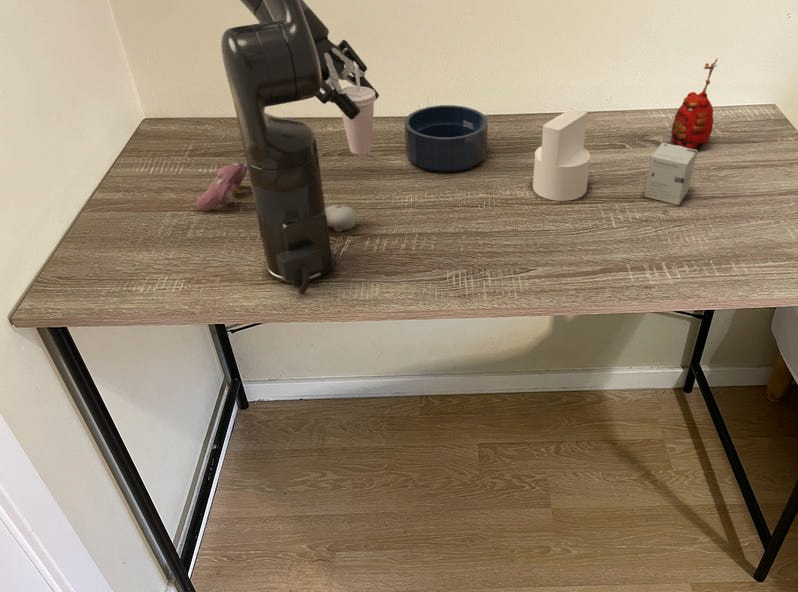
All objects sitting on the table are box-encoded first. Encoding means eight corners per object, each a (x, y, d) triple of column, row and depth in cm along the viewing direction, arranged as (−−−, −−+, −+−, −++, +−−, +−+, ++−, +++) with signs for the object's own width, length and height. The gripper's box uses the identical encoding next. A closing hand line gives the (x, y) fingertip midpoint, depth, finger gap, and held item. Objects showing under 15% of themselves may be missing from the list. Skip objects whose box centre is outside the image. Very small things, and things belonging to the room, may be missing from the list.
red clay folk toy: (661, 138, 143) (675, 57, 133) (692, 132, 145) (708, 51, 135) (687, 155, 137) (703, 71, 128) (718, 147, 140) (736, 64, 130)
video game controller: (219, 223, 122) (229, 189, 118) (192, 209, 122) (202, 175, 117) (244, 194, 130) (255, 161, 125) (220, 180, 129) (230, 147, 124)
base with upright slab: (568, 206, 123) (575, 135, 115) (522, 190, 127) (526, 121, 120) (596, 185, 129) (604, 116, 121) (551, 170, 133) (556, 103, 125)
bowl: (502, 160, 136) (504, 125, 132) (436, 182, 130) (435, 146, 125) (456, 132, 145) (456, 99, 141) (391, 152, 139) (389, 117, 134)
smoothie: (377, 158, 127) (370, 73, 118) (339, 157, 127) (329, 73, 118) (381, 141, 132) (375, 59, 123) (344, 141, 132) (335, 58, 123)
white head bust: (360, 228, 120) (354, 235, 116) (309, 226, 121) (302, 233, 116) (359, 200, 119) (354, 207, 114) (308, 198, 119) (301, 205, 114)
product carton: (643, 197, 125) (650, 155, 121) (654, 182, 130) (661, 141, 125) (679, 206, 123) (688, 163, 119) (689, 190, 127) (698, 148, 123)
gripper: (280, 21, 112) (359, 110, 117) (326, -5, 122) (398, 78, 127) (255, 54, 117) (332, 138, 121) (302, 26, 127) (371, 105, 132)
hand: (365, 107), depth 124 cm, fingers closed on smoothie, 6 cm apart
